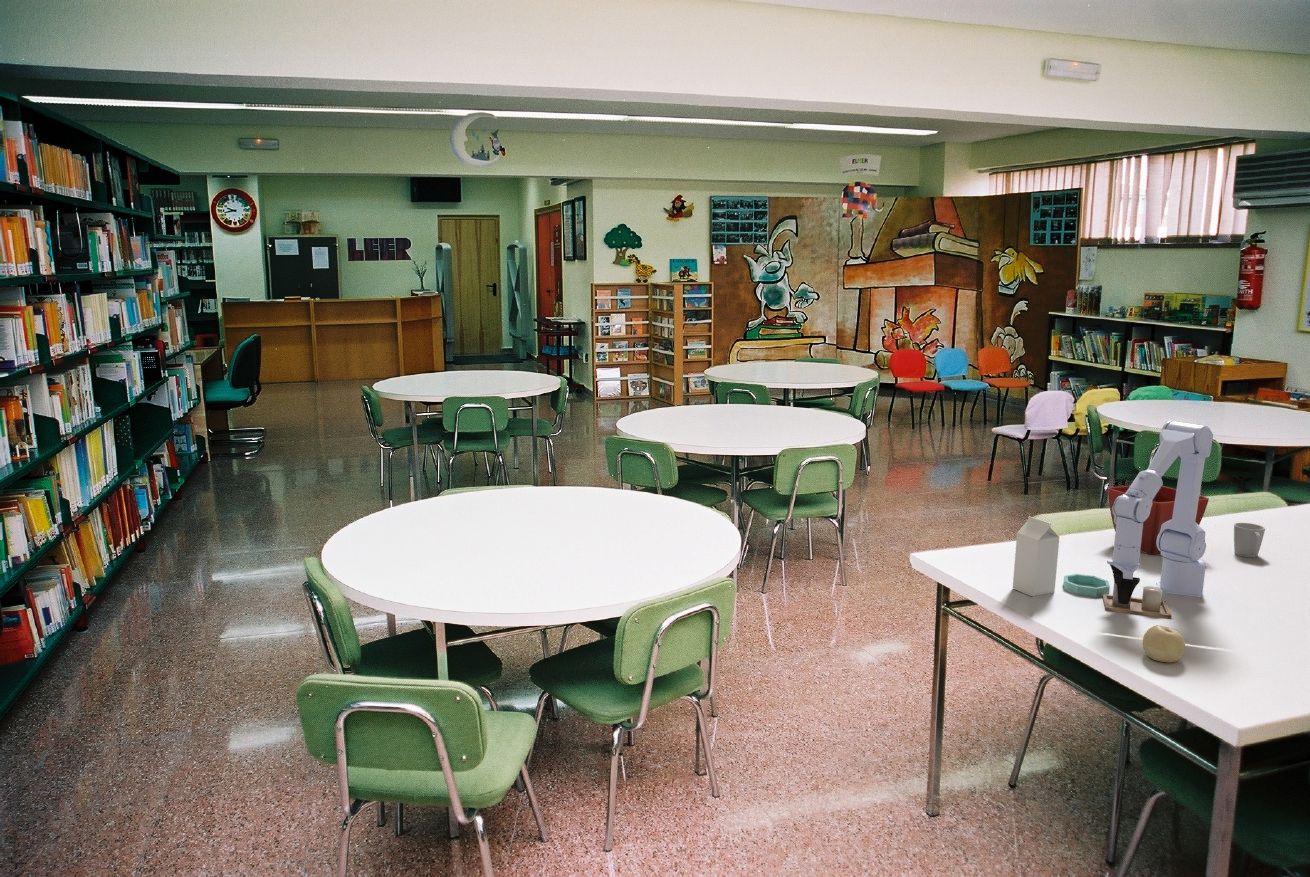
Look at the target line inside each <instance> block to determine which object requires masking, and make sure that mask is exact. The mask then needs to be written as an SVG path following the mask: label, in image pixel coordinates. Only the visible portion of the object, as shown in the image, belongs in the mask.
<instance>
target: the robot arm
mask: <svg viewBox="0 0 1310 877" xmlns="http://www.w3.org/2000/svg"><path fill="white" fill-rule="evenodd" d="M1213 439H1214V434H1213V432H1212V430H1211V428H1210V427H1209V426H1208V425H1204V424H1203V425H1198V424H1193V423H1188V422H1186V423H1185V422H1179V421H1175V420H1168V421H1166V422H1165V423H1164V424H1163V425H1162V427H1161V430H1160V432H1159V444H1160V445H1159V446H1158V448H1157V450H1156V451H1155V453H1154V456H1153V458H1152V460H1151V461H1150V462H1149V463H1150V464H1149V466H1148V467H1147V469H1146V470H1141V471H1139V472H1138V474H1137V475H1136V477H1135V479H1134V480H1133V481H1132V483H1131V484H1130V485H1129V486H1130V487H1129V489H1128V490H1127V492H1126V493H1125V494H1123V495H1121V496H1118V497H1117V498H1116V500H1115V502H1114V505H1113V506H1112V512H1113V515H1114V522H1115V524H1116V531H1115V530H1114V533H1115V534H1114V542H1113V543H1114V544H1113V551H1112V559H1110V558H1109V559H1108V558H1107V559H1106V564H1108V565H1109V567H1110V569H1111V571H1112V575H1113V585H1114V584H1115V583H1116V585H1117V596H1118V602H1119V604H1127V605H1128V604H1129V602H1130V599H1131V597H1132V595H1133V592H1134V591H1135V588H1136V587H1137V586H1138V584H1139V583H1140V581H1141V579H1140V577H1134V573H1135V572H1136V571H1137V570H1138V569H1139V568H1140V565H1141V564H1140V557H1141V556H1140V555H1141V551H1140V549H1141V539H1142V530H1143V522H1144V521H1145V520H1146V519H1147V518H1148V517H1149V514H1150V511H1151V507H1152V504H1153V503H1152V500H1153V498H1154V497H1155V495H1156V494H1157V492H1158V491H1159V489H1160V488H1161V486H1164V484H1163V483H1164V482H1163V479H1162V477H1163V476H1164V475H1165V473H1166V472H1167V471H1168V470H1169V468H1170V467H1171V465H1172V464H1174V462H1175V461H1176V460H1177V459H1178V458H1180V465H1179V470H1178V472H1179V473H1178V477H1177V485H1176V489H1177V490H1176V497H1175V503H1174V509H1173V516H1172V519H1171V520H1169V521H1167V522H1165V523H1163V524H1162V525H1161V530H1160V532H1159V534H1158V537H1157V541H1156V544H1157V548H1158V550H1159V551H1161V554H1159V555H1160V556H1162V564H1161V571H1160V572H1161V573H1160V581H1156V584H1155V585H1156V586H1157V588H1160V589H1161V590H1162V594H1170V595H1180V596H1181V595H1182V596H1189V597H1198V598H1203V597H1204V596H1203V592H1204V591H1203V590H1204V585H1205V584H1204V583H1205V578H1206V577H1205V576H1206V565H1205V564H1206V563H1205V561H1204V560H1203V559H1202V558H1203V556H1204V554H1205V553H1206V548H1207V543H1206V531H1205V530H1204V528H1202V527H1201V525H1200V524H1199V525H1198V524H1197V523H1196V522H1195V519H1196V513H1197V507H1198V500H1199V496H1200V494H1201V493H1200V492H1201V487H1202V486H1201V485H1202V482H1203V481H1202V480H1203V475H1204V474H1203V473H1204V469H1205V468H1204V467H1205V461H1206V459H1207V458H1210V455H1211V451H1212V446H1213V445H1212V444H1213Z"/></svg>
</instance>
